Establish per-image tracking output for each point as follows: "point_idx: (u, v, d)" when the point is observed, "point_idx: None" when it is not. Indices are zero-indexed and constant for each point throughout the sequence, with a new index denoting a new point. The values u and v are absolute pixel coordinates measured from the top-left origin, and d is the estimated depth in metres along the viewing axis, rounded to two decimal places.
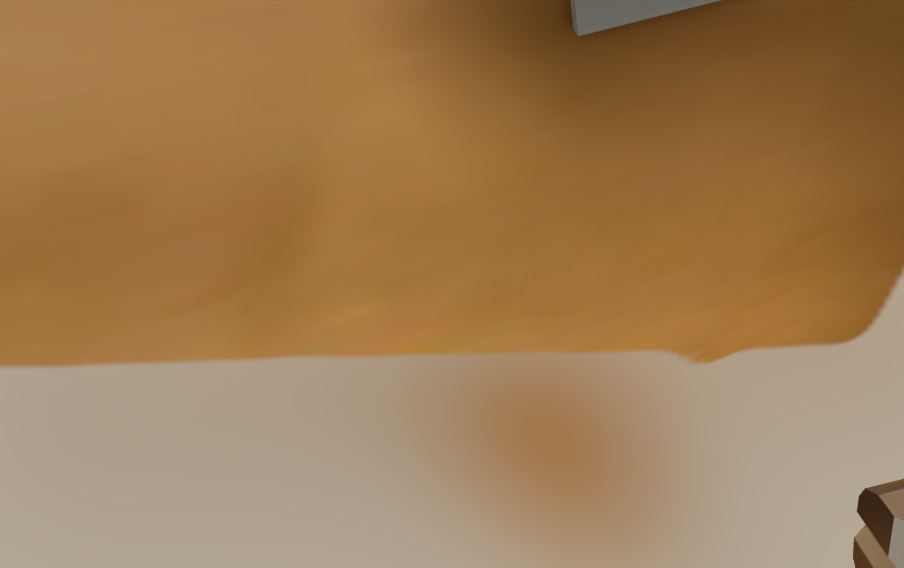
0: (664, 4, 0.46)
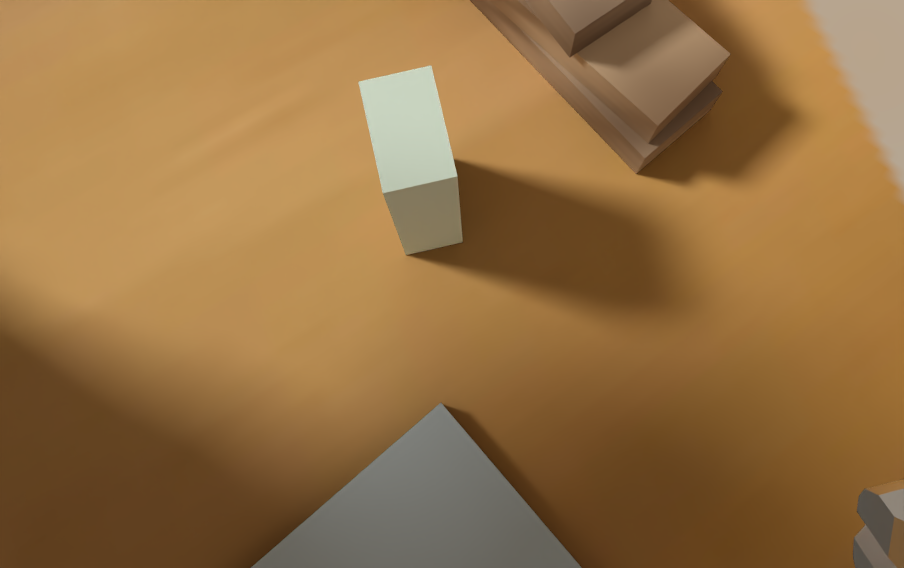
0: None
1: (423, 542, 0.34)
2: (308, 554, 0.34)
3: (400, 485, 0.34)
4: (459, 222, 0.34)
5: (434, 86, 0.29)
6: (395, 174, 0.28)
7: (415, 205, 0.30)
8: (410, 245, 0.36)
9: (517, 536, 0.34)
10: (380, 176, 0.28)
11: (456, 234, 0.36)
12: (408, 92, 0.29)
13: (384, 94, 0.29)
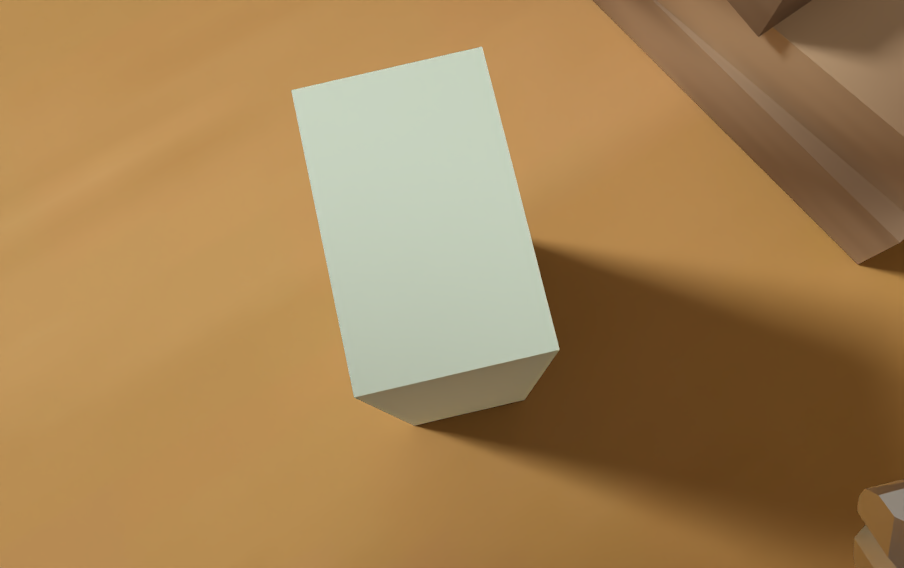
0: None
1: None
2: None
3: None
4: (529, 388, 0.16)
5: (491, 101, 0.11)
6: (387, 344, 0.10)
7: (438, 393, 0.12)
8: (423, 419, 0.18)
9: None
10: (347, 349, 0.10)
11: (516, 397, 0.18)
12: (424, 117, 0.11)
13: (359, 123, 0.11)
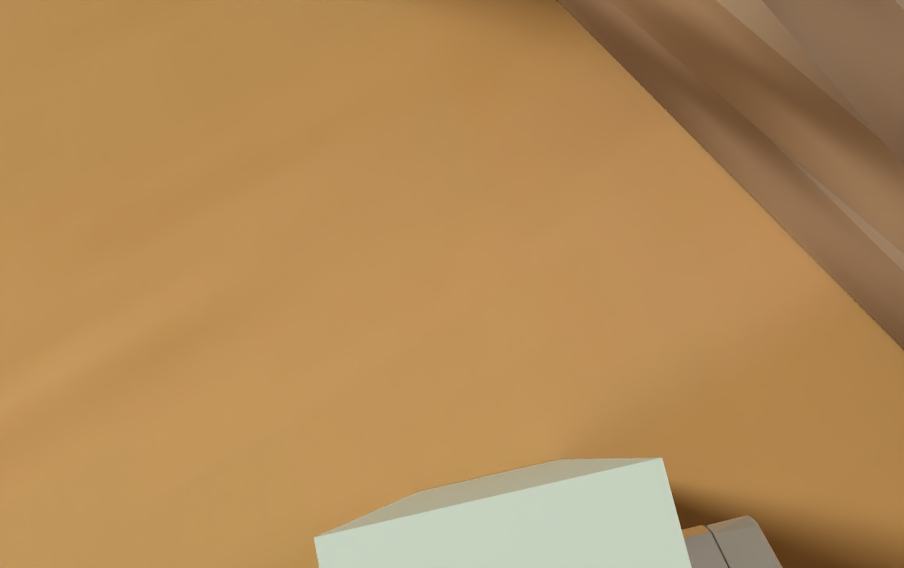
0: None
1: None
2: None
3: None
4: None
5: (682, 567, 0.06)
6: None
7: None
8: None
9: None
10: None
11: None
12: None
13: None
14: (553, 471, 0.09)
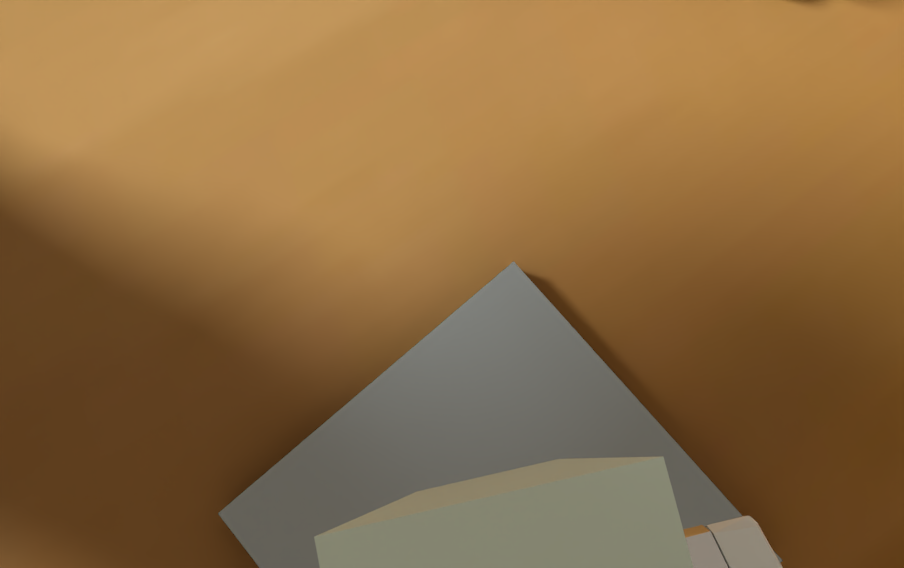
0: None
1: (493, 433, 0.27)
2: (347, 449, 0.27)
3: (463, 363, 0.27)
4: None
5: (684, 566, 0.06)
6: None
7: None
8: None
9: (613, 426, 0.26)
10: None
11: None
12: None
13: None
14: (553, 470, 0.09)
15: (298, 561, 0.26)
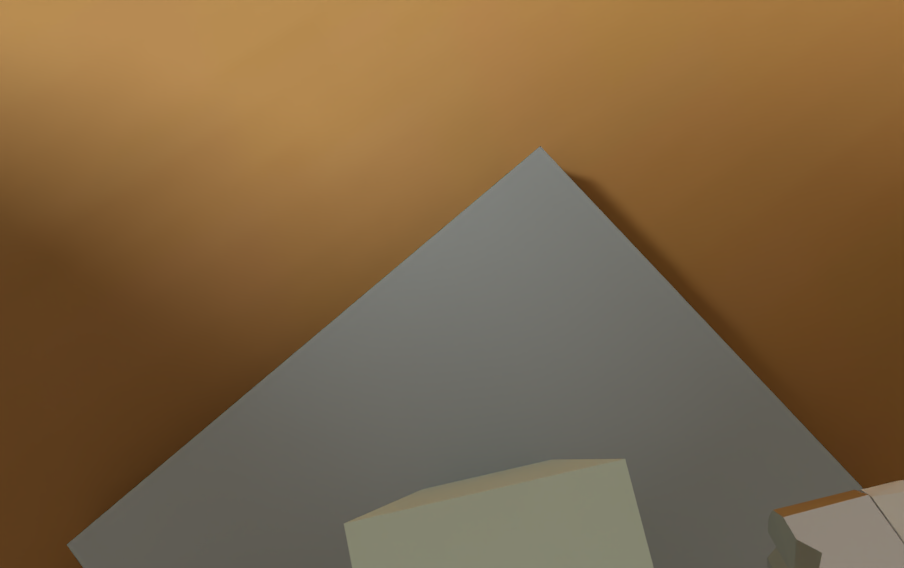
0: None
1: (510, 415, 0.16)
2: (275, 440, 0.17)
3: (462, 305, 0.17)
4: None
5: (641, 547, 0.07)
6: None
7: None
8: None
9: (704, 403, 0.16)
10: None
11: None
12: None
13: None
14: (541, 470, 0.10)
15: None
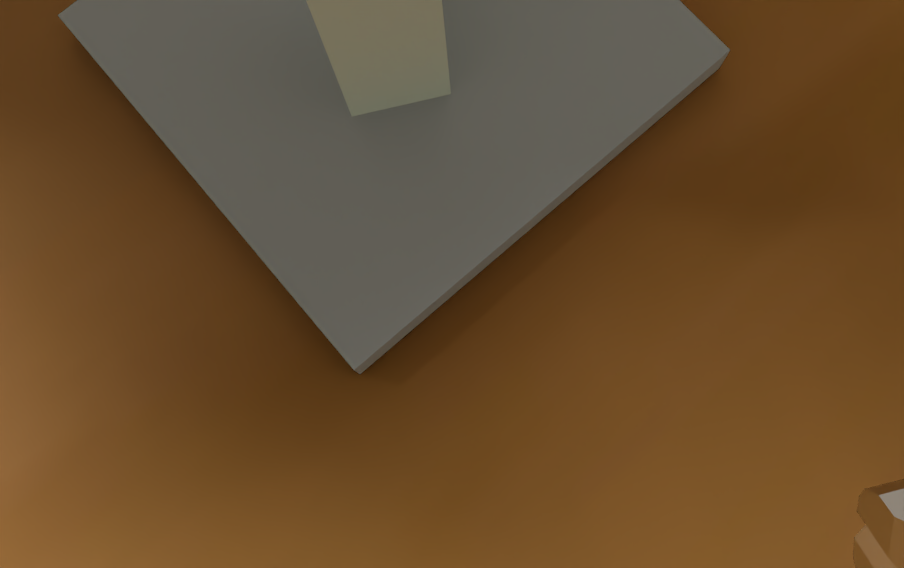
0: (493, 220, 0.21)
1: None
2: None
3: None
4: (441, 29, 0.18)
5: None
6: None
7: None
8: (355, 89, 0.20)
9: None
10: None
11: (438, 68, 0.20)
12: None
13: None
14: None
15: (151, 64, 0.22)
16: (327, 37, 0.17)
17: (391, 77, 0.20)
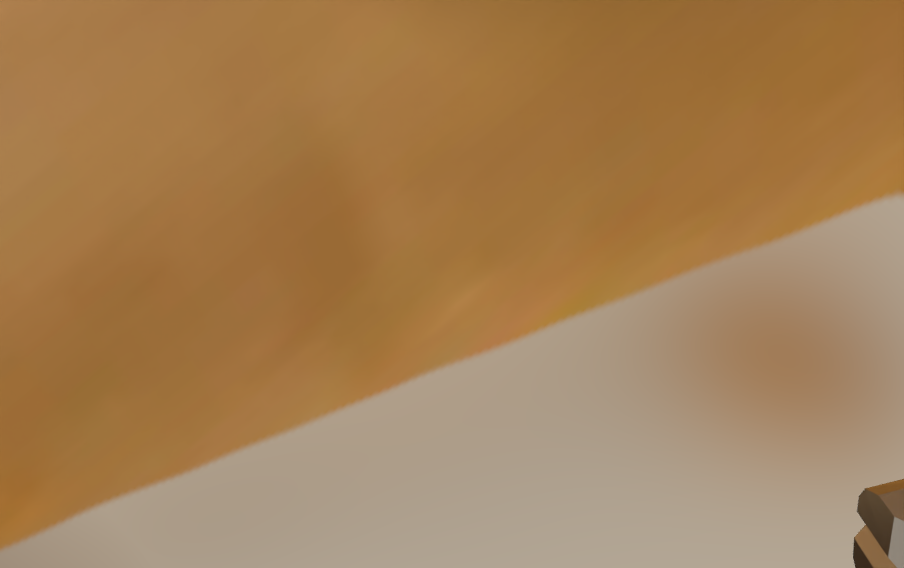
0: None
1: None
2: None
3: None
4: None
5: None
6: None
7: None
8: None
9: None
10: None
11: None
12: None
13: None
14: None
15: None
16: None
17: None
